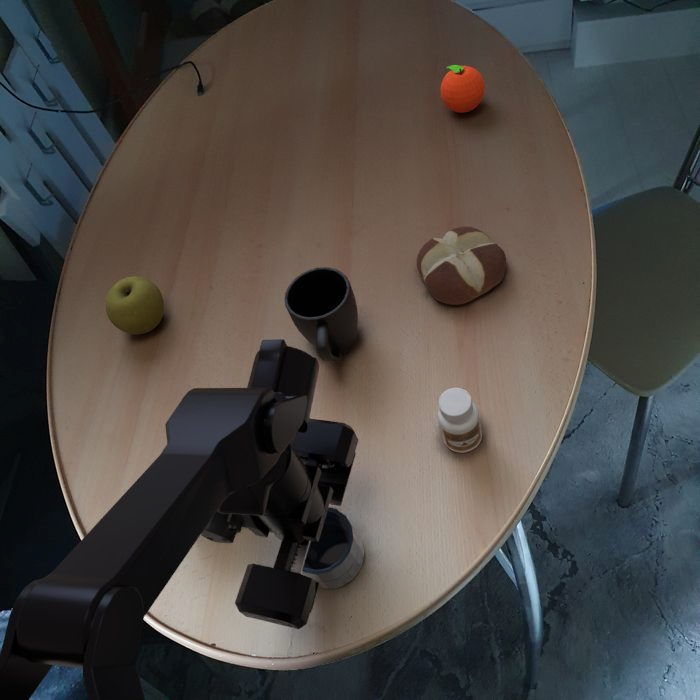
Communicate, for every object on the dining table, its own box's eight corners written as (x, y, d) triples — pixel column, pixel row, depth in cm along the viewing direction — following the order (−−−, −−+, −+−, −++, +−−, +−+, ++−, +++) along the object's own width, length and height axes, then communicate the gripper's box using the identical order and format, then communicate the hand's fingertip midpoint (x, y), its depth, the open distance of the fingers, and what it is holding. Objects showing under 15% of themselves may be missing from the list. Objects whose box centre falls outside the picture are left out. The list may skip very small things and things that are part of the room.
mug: (306, 394, 84) (282, 351, 77) (306, 319, 91) (284, 273, 84) (370, 384, 83) (352, 339, 75) (365, 308, 90) (348, 260, 82)
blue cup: (355, 596, 68) (342, 580, 64) (294, 582, 71) (278, 566, 66) (371, 532, 72) (360, 512, 68) (313, 521, 74) (298, 501, 70)
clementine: (430, 107, 111) (424, 69, 106) (464, 87, 112) (459, 47, 107) (461, 127, 107) (456, 88, 101) (495, 106, 108) (492, 66, 102)
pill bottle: (449, 458, 75) (440, 425, 69) (438, 425, 77) (429, 390, 71) (487, 447, 74) (482, 412, 68) (475, 414, 77) (469, 378, 71)
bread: (437, 317, 86) (432, 293, 82) (410, 258, 93) (404, 232, 89) (520, 287, 86) (519, 261, 82) (486, 230, 93) (483, 203, 89)
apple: (183, 313, 97) (161, 281, 92) (143, 352, 95) (117, 322, 89) (153, 293, 101) (129, 261, 96) (113, 330, 99) (87, 300, 93)
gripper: (229, 379, 64) (280, 453, 76) (147, 575, 54) (222, 623, 66) (339, 391, 60) (375, 467, 72) (273, 604, 50) (327, 649, 63)
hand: (324, 546), depth 68 cm, fingers open, 9 cm apart
